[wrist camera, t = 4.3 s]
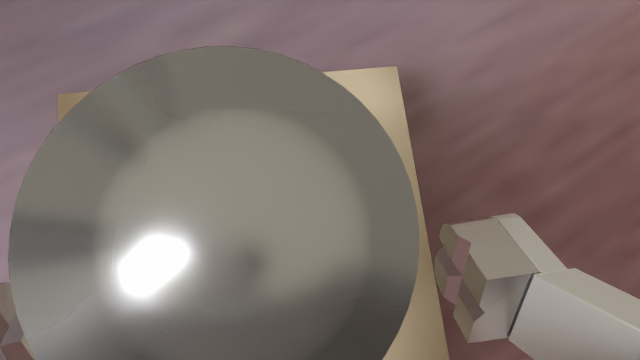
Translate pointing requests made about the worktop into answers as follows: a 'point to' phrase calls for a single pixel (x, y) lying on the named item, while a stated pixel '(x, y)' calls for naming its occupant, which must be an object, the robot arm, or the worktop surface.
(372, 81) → the post stand
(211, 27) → the worktop surface
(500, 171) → the worktop surface
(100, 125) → the silver metal canister
